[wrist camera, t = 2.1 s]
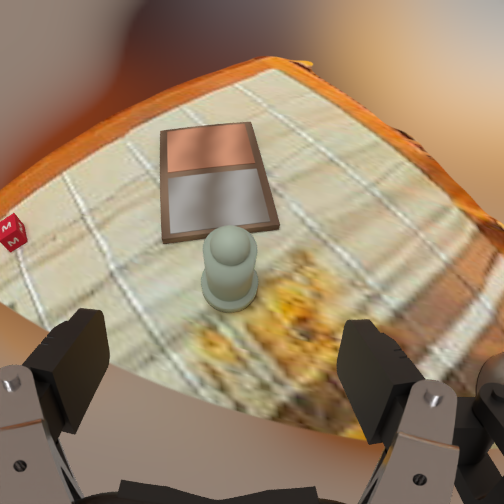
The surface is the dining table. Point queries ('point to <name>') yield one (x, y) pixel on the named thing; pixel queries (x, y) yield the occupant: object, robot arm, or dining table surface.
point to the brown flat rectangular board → (213, 182)
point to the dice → (12, 232)
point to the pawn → (229, 268)
